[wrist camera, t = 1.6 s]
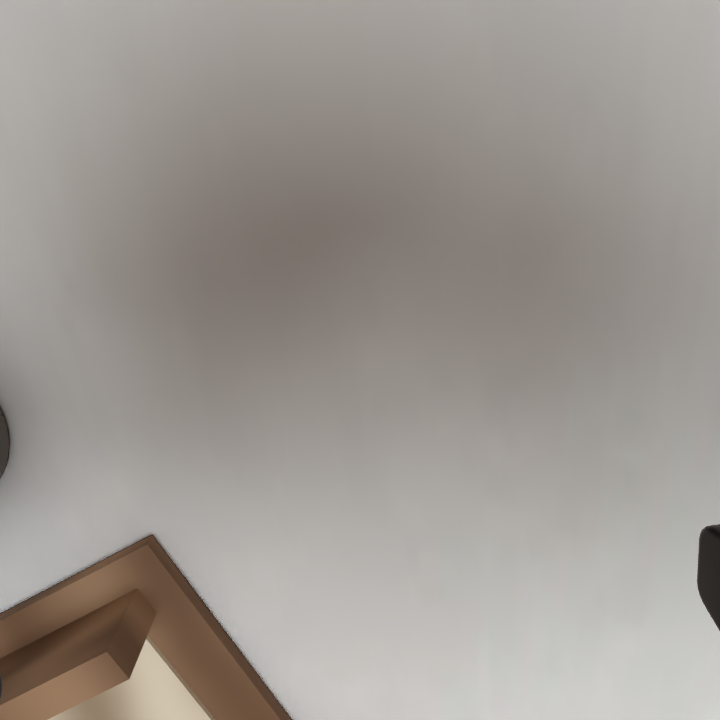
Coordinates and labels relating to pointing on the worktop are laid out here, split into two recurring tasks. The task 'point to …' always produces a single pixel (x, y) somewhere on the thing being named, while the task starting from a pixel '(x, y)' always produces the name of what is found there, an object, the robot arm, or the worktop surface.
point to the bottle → (3, 444)
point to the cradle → (125, 650)
